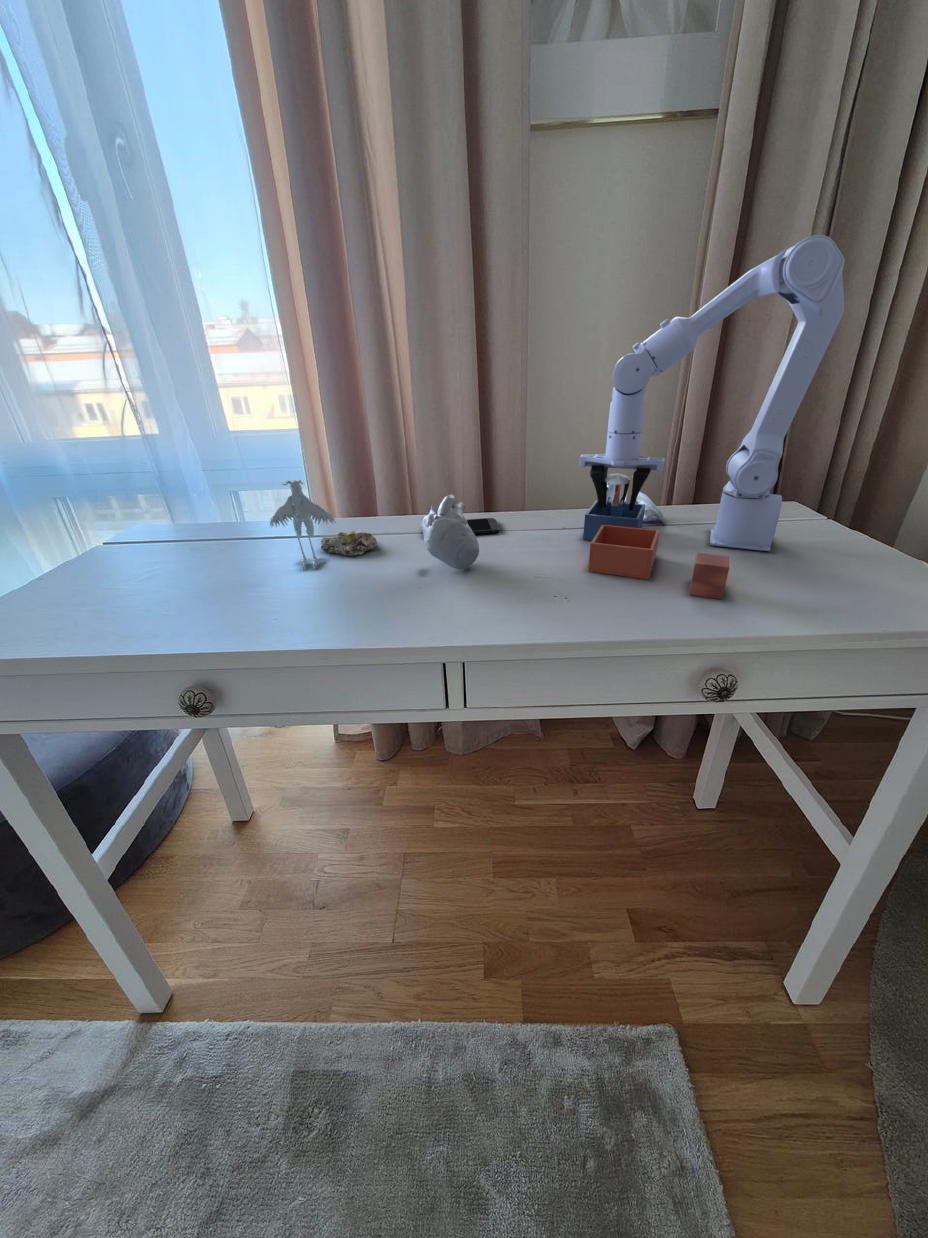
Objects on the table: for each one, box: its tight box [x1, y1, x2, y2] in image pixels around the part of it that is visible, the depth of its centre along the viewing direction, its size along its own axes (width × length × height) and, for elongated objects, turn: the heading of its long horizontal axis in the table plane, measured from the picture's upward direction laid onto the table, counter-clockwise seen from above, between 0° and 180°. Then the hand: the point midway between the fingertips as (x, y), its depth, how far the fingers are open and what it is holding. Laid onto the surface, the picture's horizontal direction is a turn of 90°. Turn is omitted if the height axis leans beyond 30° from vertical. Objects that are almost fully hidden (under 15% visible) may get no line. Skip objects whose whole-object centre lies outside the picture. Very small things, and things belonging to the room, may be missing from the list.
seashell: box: [636, 491, 666, 523], centre depth 102 cm, size 8×5×8 cm
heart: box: [421, 493, 480, 570], centre depth 84 cm, size 10×10×12 cm
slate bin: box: [582, 499, 645, 542], centre depth 96 cm, size 10×10×5 cm
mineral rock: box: [320, 530, 378, 557], centre depth 95 cm, size 11×4×8 cm
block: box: [688, 552, 730, 600], centre depth 74 cm, size 4×4×5 cm
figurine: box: [269, 479, 337, 571], centre depth 86 cm, size 11×4×15 cm, turn 95°
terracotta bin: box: [587, 525, 661, 580], centre depth 83 cm, size 10×10×5 cm
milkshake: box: [604, 469, 636, 517], centre depth 93 cm, size 4×5×10 cm
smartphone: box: [466, 517, 501, 535], centre depth 102 cm, size 7×15×1 cm, turn 95°
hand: (616, 507), depth 94 cm, fingers closed on milkshake, 5 cm apart
